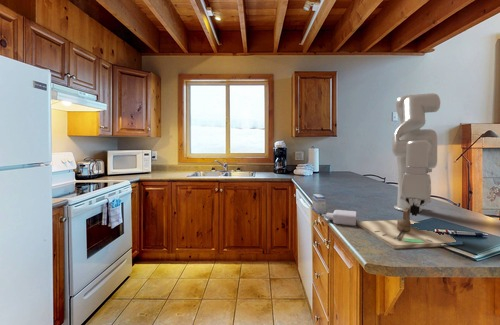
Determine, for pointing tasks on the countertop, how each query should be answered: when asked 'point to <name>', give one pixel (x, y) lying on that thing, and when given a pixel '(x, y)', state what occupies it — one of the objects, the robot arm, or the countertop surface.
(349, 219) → the charger
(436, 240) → the board
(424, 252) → the countertop surface
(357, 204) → the countertop surface
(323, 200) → the medicine box
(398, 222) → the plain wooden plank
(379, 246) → the countertop surface
